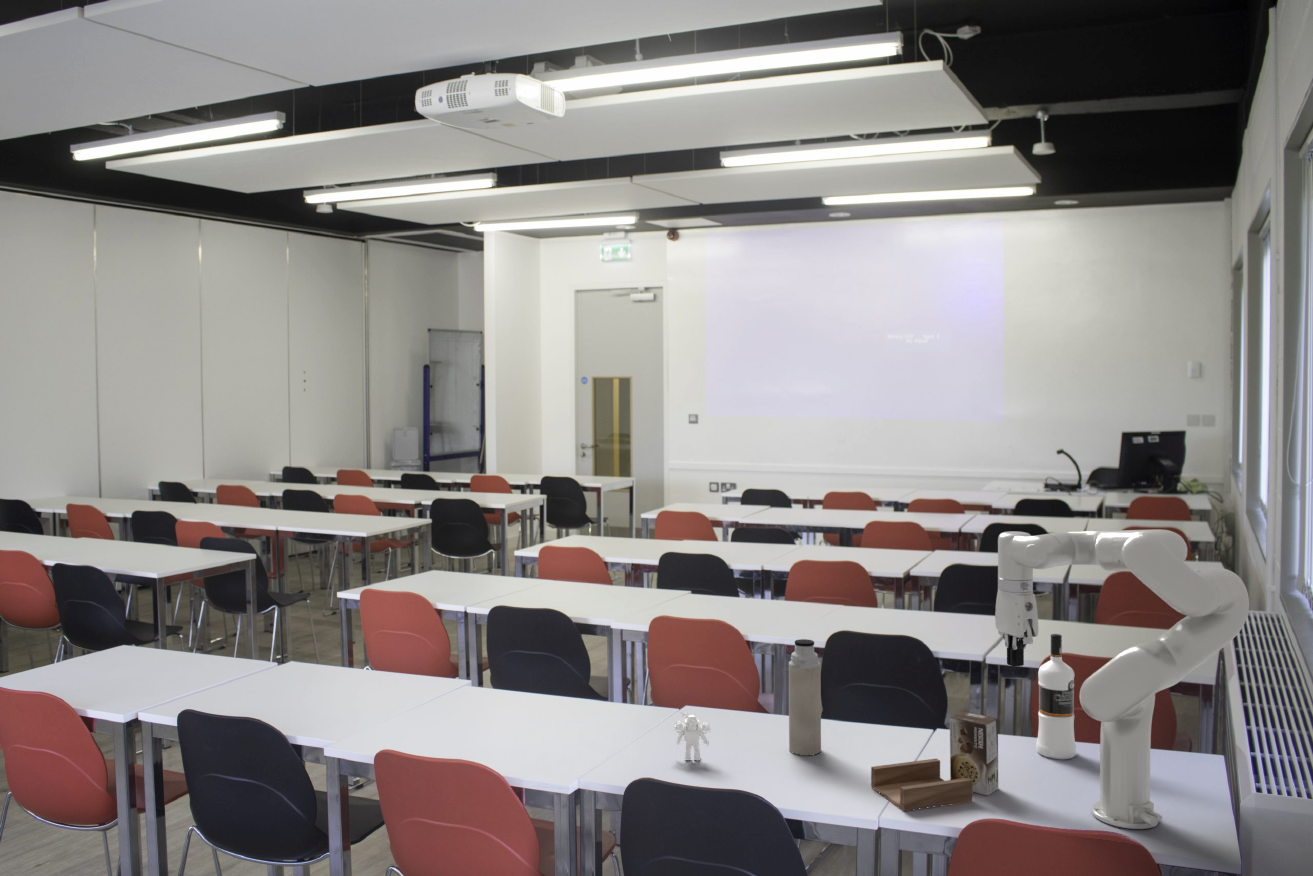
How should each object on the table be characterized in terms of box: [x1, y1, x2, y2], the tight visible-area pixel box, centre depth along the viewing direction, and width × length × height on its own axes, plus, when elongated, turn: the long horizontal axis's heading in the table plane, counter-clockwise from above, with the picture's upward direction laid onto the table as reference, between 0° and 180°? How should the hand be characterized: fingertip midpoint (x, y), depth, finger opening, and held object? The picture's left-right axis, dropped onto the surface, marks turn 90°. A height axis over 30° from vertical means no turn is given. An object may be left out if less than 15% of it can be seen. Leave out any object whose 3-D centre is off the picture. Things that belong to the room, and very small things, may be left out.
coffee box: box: [948, 710, 999, 796], centre depth 222 cm, size 9×6×16 cm
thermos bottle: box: [788, 638, 822, 756], centre depth 247 cm, size 8×8×28 cm
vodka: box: [1035, 633, 1077, 761], centre depth 243 cm, size 9×9×30 cm
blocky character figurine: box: [673, 711, 711, 761], centre depth 242 cm, size 9×4×12 cm, turn 80°
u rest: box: [870, 758, 973, 812], centre depth 218 cm, size 14×17×5 cm
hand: (1015, 665), depth 225 cm, fingers closed
